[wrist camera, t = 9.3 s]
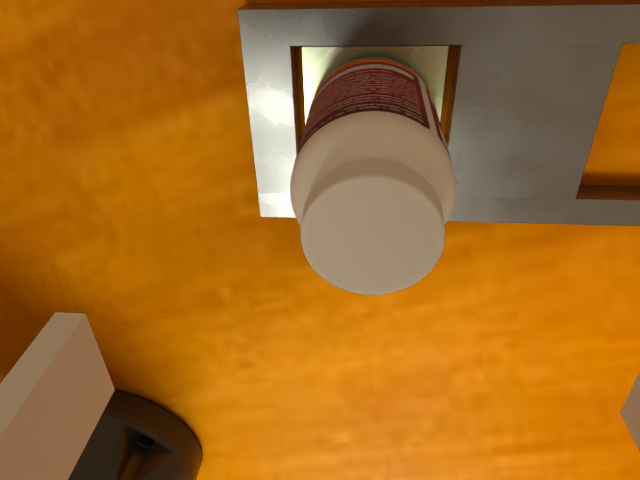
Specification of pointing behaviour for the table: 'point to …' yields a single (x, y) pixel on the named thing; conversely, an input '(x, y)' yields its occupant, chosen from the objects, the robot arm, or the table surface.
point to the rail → (458, 94)
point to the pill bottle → (372, 178)
